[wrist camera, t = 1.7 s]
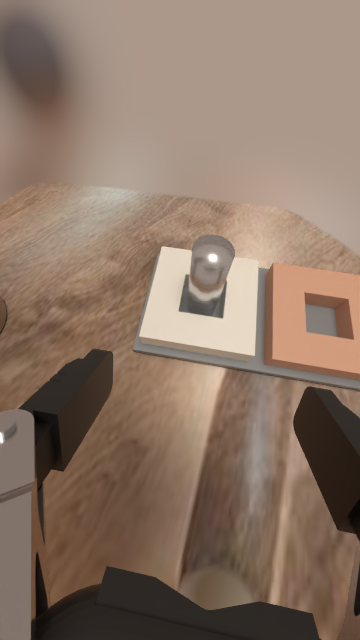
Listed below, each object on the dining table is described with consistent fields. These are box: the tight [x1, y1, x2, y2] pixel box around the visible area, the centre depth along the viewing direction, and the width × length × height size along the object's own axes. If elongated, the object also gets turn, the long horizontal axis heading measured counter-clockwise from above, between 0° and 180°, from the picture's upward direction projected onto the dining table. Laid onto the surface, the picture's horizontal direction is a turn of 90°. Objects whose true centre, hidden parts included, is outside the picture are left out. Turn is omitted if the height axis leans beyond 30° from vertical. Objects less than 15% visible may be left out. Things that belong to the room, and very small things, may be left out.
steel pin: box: [187, 235, 235, 316], centre depth 24 cm, size 4×4×10 cm
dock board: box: [133, 246, 360, 391], centre depth 27 cm, size 28×14×4 cm, turn 80°
